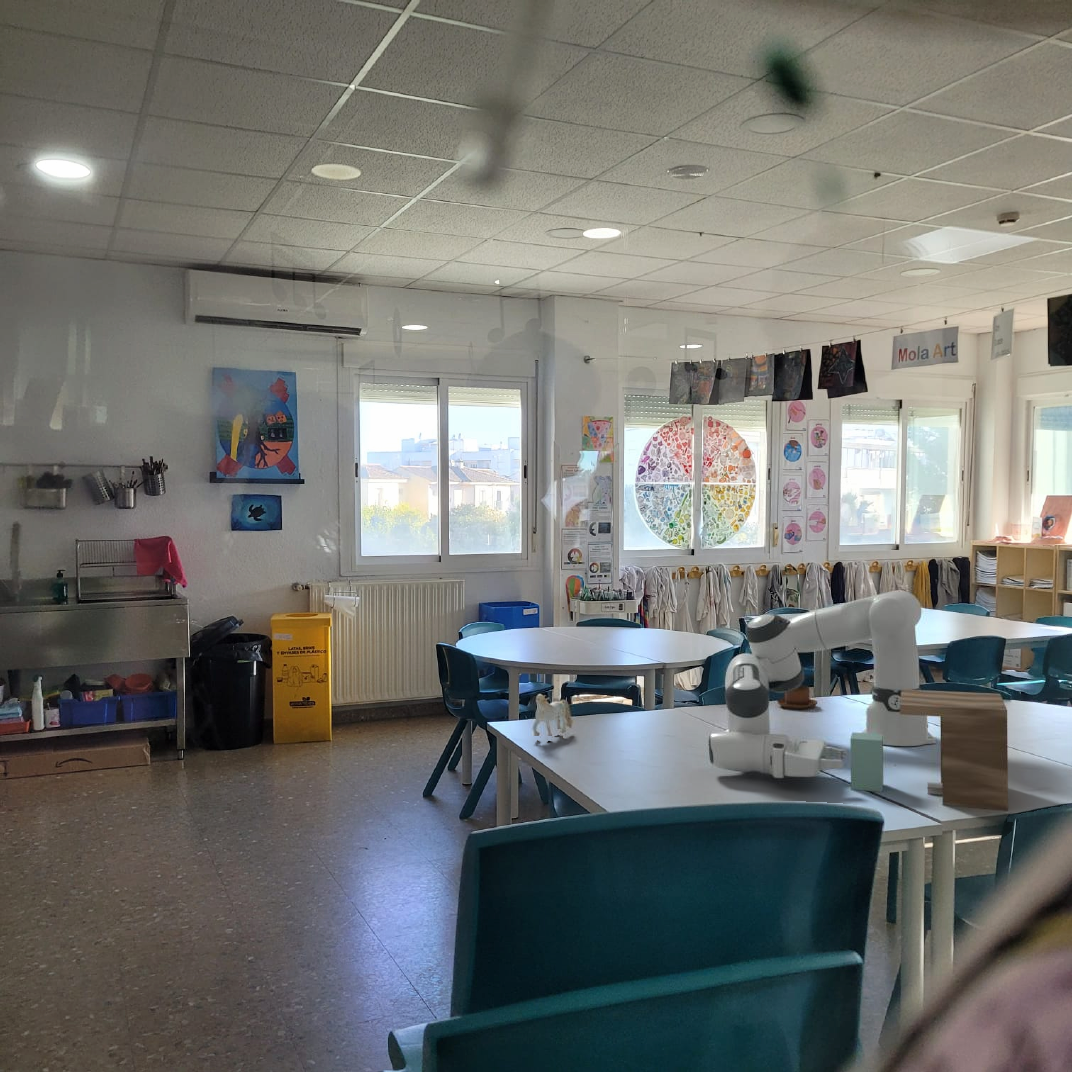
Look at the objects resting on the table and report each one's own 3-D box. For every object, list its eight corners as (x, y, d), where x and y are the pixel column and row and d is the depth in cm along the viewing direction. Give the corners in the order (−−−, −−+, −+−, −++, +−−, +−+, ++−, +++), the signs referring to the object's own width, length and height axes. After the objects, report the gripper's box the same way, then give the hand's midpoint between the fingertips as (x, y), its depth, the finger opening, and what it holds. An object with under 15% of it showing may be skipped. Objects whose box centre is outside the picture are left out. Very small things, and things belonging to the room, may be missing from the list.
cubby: (902, 778, 221) (901, 689, 221) (1000, 785, 214) (1000, 693, 214) (900, 801, 204) (899, 704, 203) (1007, 810, 196) (1007, 710, 196)
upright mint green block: (852, 781, 219) (852, 732, 219) (883, 784, 217) (882, 734, 217) (850, 789, 213) (850, 738, 213) (882, 791, 211) (881, 740, 211)
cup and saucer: (780, 702, 314) (780, 683, 314) (819, 705, 309) (819, 685, 309) (774, 709, 303) (774, 689, 303) (814, 712, 298) (814, 691, 298)
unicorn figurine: (524, 747, 257) (523, 696, 257) (549, 732, 275) (549, 684, 275) (550, 749, 255) (549, 697, 254) (574, 733, 273) (573, 685, 273)
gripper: (785, 757, 231) (847, 762, 226) (773, 779, 212) (841, 785, 207) (785, 731, 231) (847, 735, 226) (773, 750, 212) (841, 755, 207)
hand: (844, 759), depth 216 cm, fingers open, 8 cm apart
